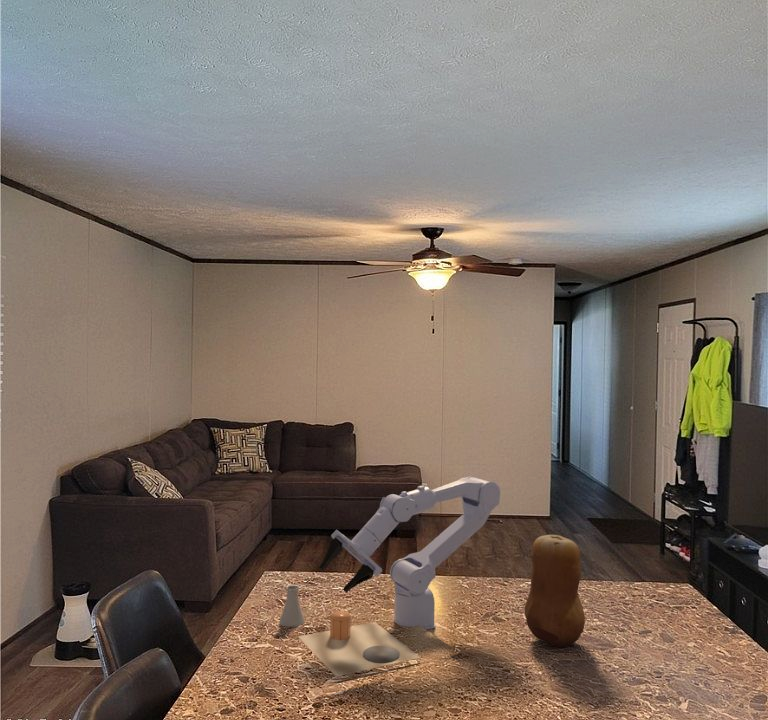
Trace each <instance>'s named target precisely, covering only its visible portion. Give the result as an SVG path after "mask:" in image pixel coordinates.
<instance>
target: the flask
mask: <svg viewBox="0 0 768 720" xmlns="http://www.w3.org/2000/svg"><path fill="white" fill-rule="evenodd" d="M285 590H286V592H287V596H286V600H285V601H286V602H285V605H284V607H283V611H282V613H281V615H280V619H279V625H281V626H284V627H291V628H292V627H300V626H302V625H303V624H305V622H306V619H305V615H304V613H303V610H302V607H301V604H300V601H299V600H300V599H299V594H298V593H299V590H300V587H299V585H295V584H294V585H290V584H289V585H287V586H286V589H285Z"/></svg>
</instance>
